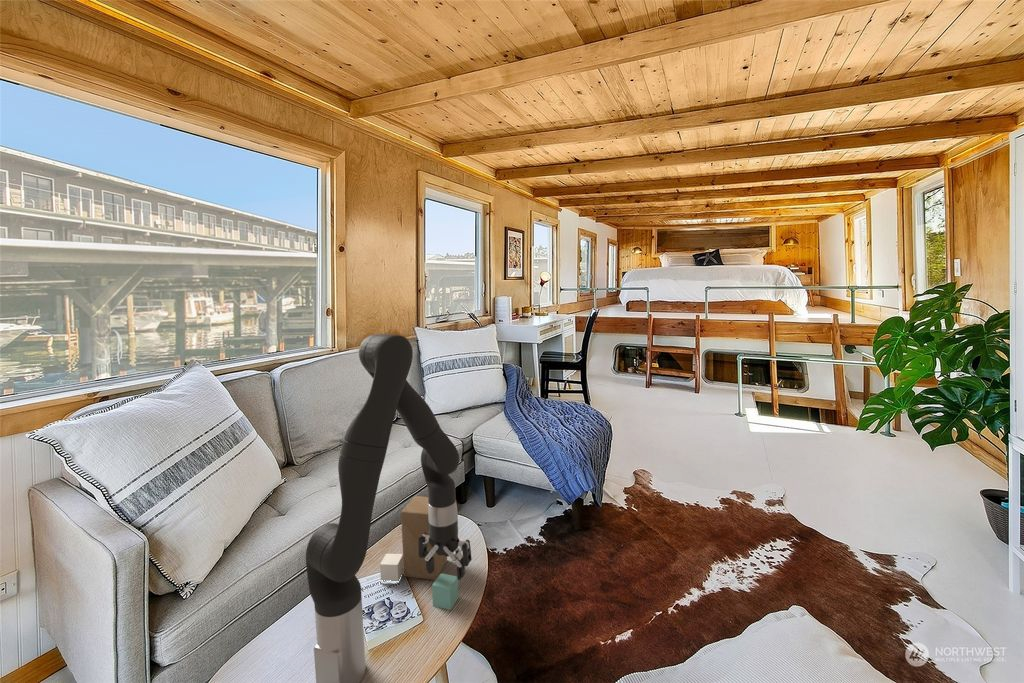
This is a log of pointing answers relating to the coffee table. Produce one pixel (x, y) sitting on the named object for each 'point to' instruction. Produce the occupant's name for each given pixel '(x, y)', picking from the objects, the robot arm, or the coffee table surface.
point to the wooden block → (417, 540)
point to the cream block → (392, 567)
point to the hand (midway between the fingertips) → (445, 574)
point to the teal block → (445, 591)
